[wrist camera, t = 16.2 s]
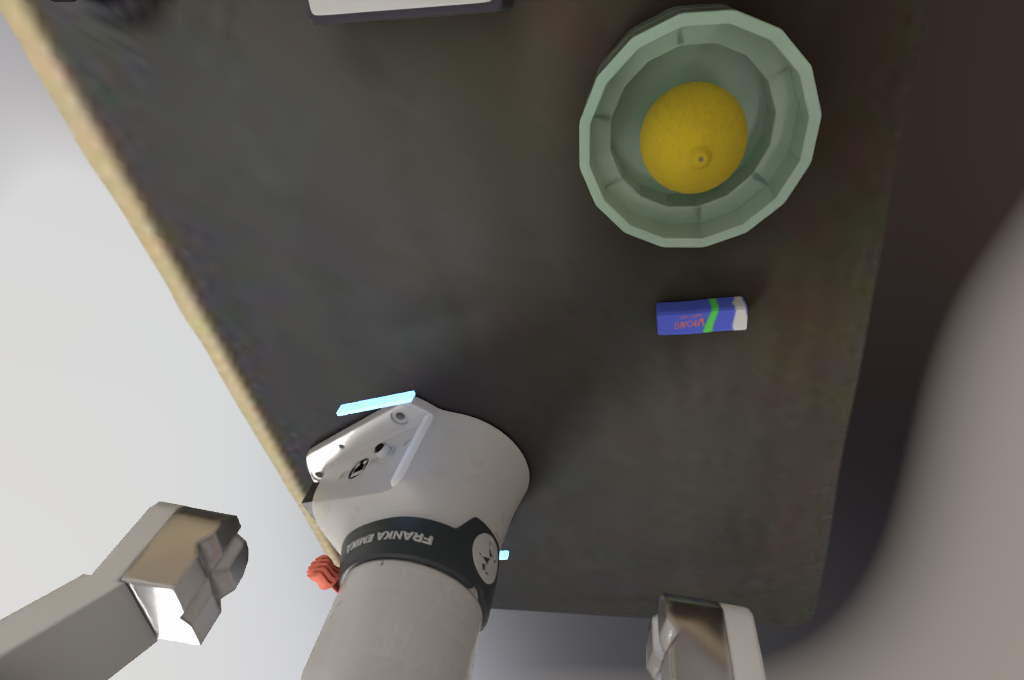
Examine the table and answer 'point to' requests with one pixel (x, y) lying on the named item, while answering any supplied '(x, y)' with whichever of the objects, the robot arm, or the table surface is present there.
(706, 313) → the eraser
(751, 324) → the table surface
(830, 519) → the table surface
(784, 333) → the table surface
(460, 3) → the calculator
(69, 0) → the coffee cup
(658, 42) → the bowl
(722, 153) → the lemon
